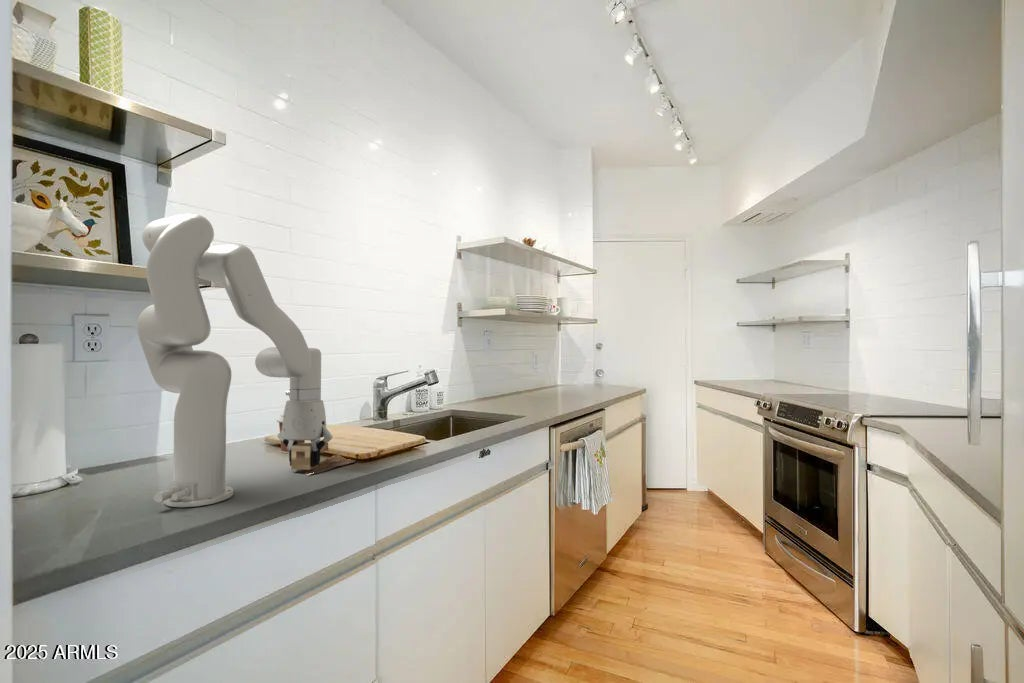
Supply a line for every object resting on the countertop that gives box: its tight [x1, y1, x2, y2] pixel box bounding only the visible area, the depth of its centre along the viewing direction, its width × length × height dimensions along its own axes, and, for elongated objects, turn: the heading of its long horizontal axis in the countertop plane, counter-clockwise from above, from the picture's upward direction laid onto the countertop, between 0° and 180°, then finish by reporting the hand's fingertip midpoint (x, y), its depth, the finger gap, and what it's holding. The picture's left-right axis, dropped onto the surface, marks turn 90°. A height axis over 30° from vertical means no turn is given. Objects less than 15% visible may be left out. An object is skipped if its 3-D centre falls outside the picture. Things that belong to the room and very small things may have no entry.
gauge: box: [290, 442, 329, 471], centre depth 135 cm, size 12×5×6 cm, turn 172°
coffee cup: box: [276, 411, 306, 455], centre depth 155 cm, size 9×9×12 cm
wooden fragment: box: [304, 454, 357, 474], centre depth 140 cm, size 26×11×1 cm, turn 167°
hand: (304, 464), depth 131 cm, fingers closed on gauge, 5 cm apart
